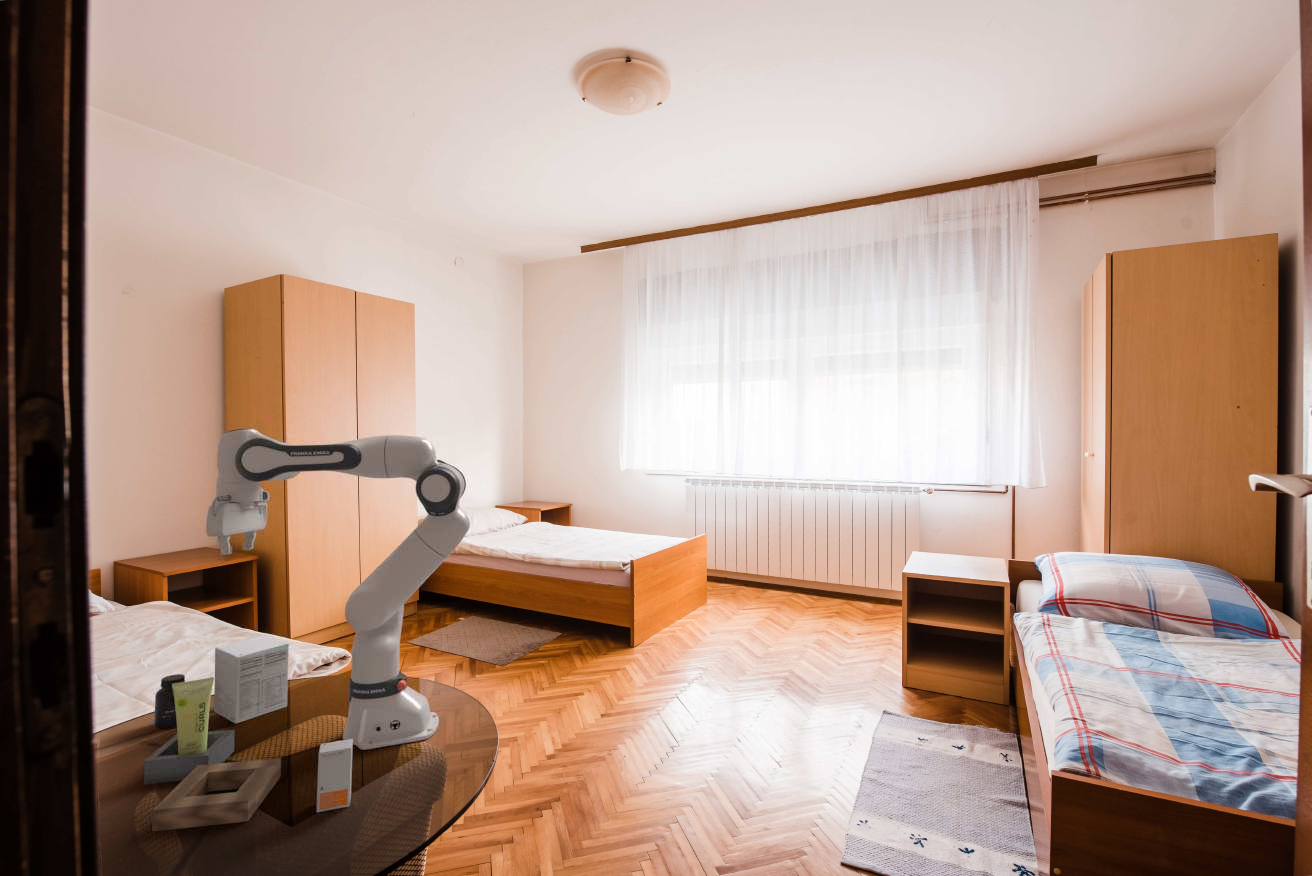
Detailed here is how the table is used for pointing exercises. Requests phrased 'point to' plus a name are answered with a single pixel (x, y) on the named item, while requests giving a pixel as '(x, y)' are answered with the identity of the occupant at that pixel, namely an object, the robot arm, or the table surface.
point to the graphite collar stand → (186, 758)
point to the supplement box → (250, 678)
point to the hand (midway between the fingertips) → (237, 552)
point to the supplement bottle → (166, 703)
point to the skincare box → (334, 775)
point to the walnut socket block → (202, 810)
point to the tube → (192, 714)
